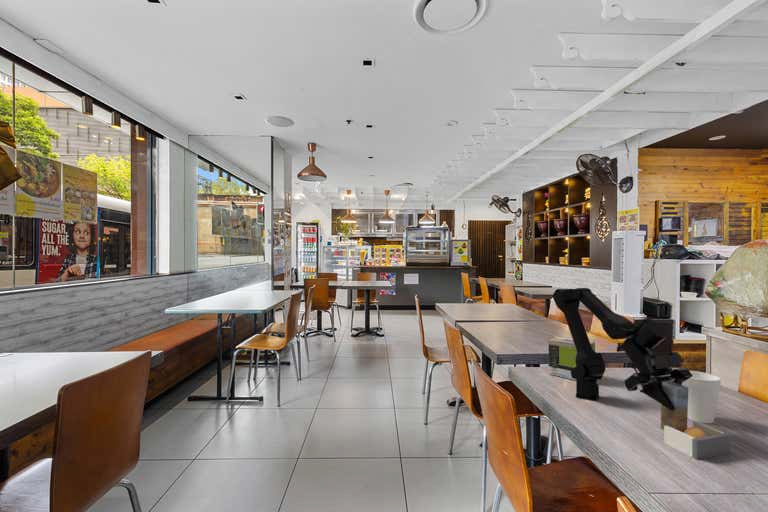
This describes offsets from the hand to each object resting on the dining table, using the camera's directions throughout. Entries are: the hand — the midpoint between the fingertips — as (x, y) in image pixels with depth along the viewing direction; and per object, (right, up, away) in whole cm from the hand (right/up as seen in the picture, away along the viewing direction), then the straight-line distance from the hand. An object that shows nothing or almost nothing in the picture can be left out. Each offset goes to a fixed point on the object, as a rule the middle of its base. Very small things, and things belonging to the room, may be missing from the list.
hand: (679, 409), depth 98 cm
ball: (+1, -6, -4) cm, 7 cm away
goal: (+1, -8, -4) cm, 9 cm away
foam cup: (+16, -9, +13) cm, 23 cm away
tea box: (-2, -9, +53) cm, 54 cm away
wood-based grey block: (0, -7, +2) cm, 7 cm away
